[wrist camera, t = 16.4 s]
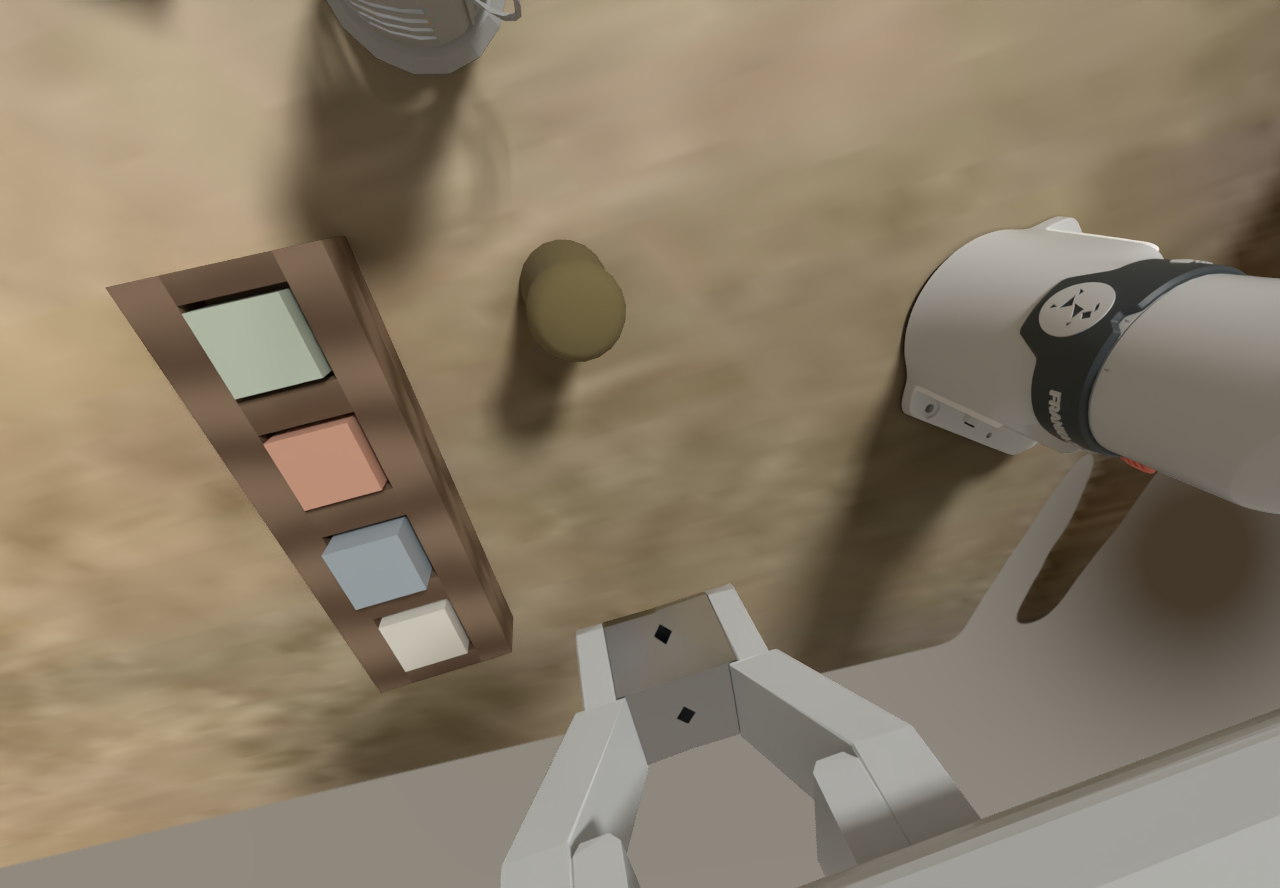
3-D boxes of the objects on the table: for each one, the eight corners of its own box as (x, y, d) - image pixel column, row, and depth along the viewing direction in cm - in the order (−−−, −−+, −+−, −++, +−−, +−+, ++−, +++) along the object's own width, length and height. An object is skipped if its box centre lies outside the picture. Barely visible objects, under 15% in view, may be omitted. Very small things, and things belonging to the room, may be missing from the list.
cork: (547, 345, 36) (554, 397, 26) (502, 264, 33) (491, 289, 23) (622, 307, 36) (657, 344, 26) (583, 223, 33) (607, 230, 23)
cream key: (386, 605, 40) (378, 628, 37) (448, 586, 40) (444, 608, 38) (412, 647, 42) (405, 672, 40) (470, 629, 42) (467, 653, 40)
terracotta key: (281, 428, 32) (263, 444, 30) (359, 408, 33) (346, 423, 31) (318, 491, 35) (304, 511, 32) (391, 472, 35) (382, 490, 33)
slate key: (334, 533, 35) (321, 556, 33) (405, 514, 36) (397, 534, 33) (366, 586, 37) (355, 609, 35) (432, 567, 38) (426, 589, 36)
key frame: (156, 277, 29) (105, 287, 26) (345, 235, 30) (321, 239, 27) (392, 653, 44) (380, 692, 41) (513, 617, 46) (511, 652, 42)
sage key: (208, 305, 29) (181, 314, 26) (297, 285, 29) (278, 291, 27) (255, 385, 31) (235, 399, 29) (337, 365, 31) (323, 377, 29)
